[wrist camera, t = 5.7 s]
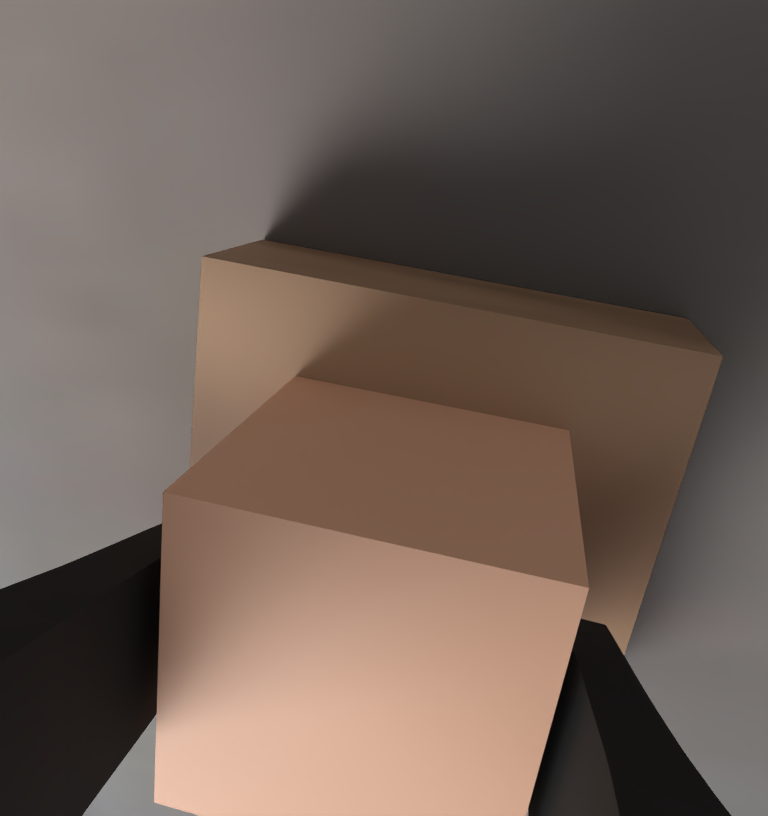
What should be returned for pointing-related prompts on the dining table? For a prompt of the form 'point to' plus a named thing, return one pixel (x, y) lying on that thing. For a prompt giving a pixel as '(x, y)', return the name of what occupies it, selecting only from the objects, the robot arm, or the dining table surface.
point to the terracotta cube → (366, 610)
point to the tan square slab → (472, 378)
